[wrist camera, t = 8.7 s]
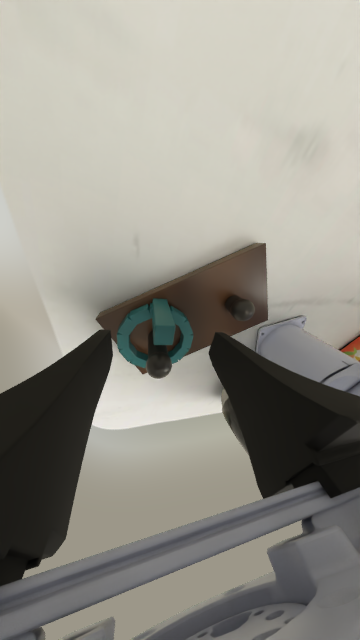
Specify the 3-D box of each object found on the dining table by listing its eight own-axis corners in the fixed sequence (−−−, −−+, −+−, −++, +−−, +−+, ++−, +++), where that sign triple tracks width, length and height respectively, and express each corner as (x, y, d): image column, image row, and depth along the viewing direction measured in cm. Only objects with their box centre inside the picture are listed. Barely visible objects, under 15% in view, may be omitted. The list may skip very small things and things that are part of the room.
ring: (184, 360, 20) (195, 397, 15) (120, 362, 18) (110, 406, 13) (197, 301, 16) (218, 327, 11) (116, 295, 14) (100, 323, 9)
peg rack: (256, 242, 15) (329, 244, 9) (260, 315, 21) (309, 346, 14) (99, 312, 16) (68, 359, 9) (143, 366, 21) (141, 419, 15)
